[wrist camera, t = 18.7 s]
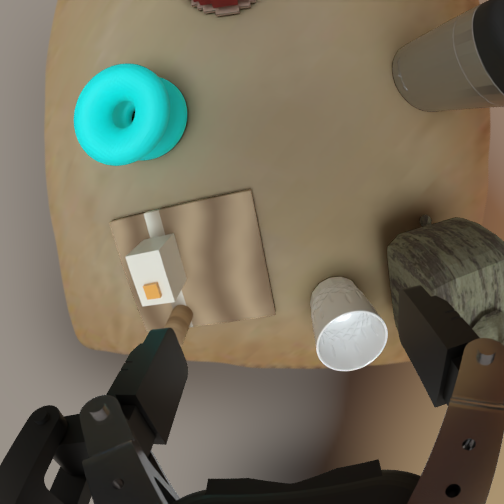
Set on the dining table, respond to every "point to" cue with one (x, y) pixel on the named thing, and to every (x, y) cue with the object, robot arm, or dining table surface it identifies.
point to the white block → (157, 270)
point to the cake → (222, 6)
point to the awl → (180, 321)
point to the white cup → (345, 325)
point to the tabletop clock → (453, 270)
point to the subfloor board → (205, 258)
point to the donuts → (129, 115)
